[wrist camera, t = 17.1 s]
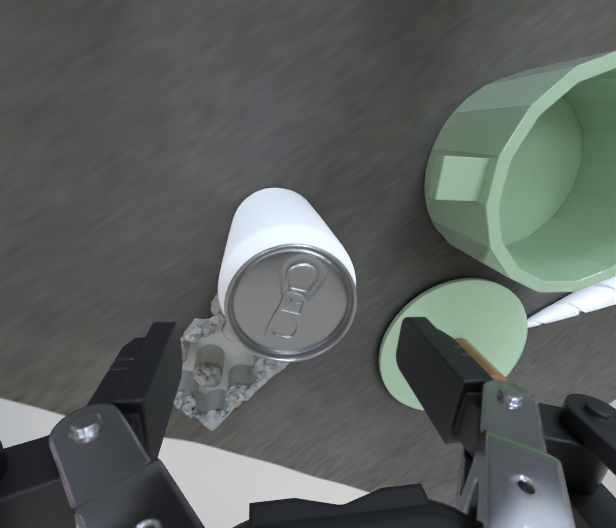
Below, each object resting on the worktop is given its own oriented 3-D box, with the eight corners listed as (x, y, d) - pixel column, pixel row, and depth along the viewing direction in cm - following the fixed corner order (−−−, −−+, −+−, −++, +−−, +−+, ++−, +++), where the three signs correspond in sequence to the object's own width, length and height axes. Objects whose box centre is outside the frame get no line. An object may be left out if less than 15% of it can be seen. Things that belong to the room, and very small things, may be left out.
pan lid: (389, 274, 28) (423, 310, 22) (539, 274, 30) (604, 307, 24) (366, 407, 33) (389, 463, 27) (495, 398, 35) (541, 448, 30)
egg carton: (235, 272, 26) (232, 296, 22) (299, 327, 28) (307, 357, 25) (145, 358, 27) (127, 394, 23) (215, 402, 30) (209, 441, 26)
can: (329, 201, 24) (391, 258, 13) (302, 277, 26) (336, 381, 15) (244, 174, 23) (236, 212, 12) (222, 257, 25) (196, 356, 14)
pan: (407, 60, 22) (479, 27, 15) (641, 86, 25) (789, 68, 18) (379, 252, 27) (422, 294, 20) (577, 254, 30) (673, 290, 23)
